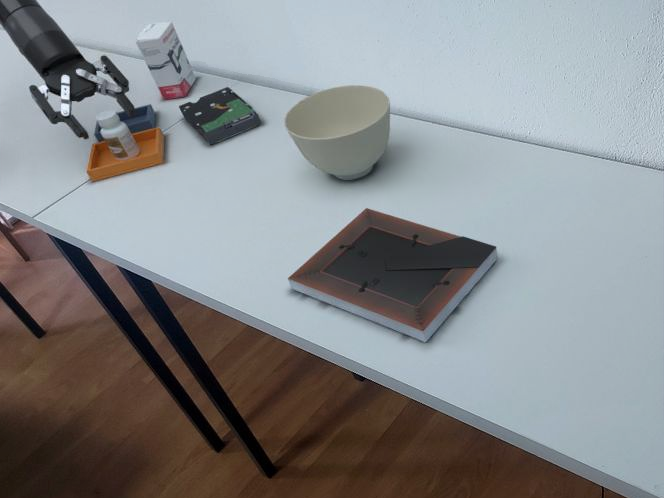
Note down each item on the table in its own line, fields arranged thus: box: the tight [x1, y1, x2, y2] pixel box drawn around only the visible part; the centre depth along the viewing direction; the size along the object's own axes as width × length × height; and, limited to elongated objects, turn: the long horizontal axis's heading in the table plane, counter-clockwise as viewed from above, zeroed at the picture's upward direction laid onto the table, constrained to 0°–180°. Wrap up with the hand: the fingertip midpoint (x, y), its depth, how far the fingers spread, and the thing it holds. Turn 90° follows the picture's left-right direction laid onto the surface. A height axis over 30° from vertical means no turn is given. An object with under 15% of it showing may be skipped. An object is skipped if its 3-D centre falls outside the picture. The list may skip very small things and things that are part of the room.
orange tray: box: [86, 126, 165, 182], centre depth 114 cm, size 12×10×2 cm
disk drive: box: [178, 86, 261, 145], centre depth 119 cm, size 10×3×15 cm
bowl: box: [283, 84, 391, 181], centre depth 99 cm, size 16×16×10 cm
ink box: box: [135, 21, 197, 100], centre depth 128 cm, size 8×5×12 cm, turn 1°
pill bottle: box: [95, 109, 140, 161], centre depth 111 cm, size 4×4×8 cm
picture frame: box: [287, 207, 498, 343], centre depth 82 cm, size 16×2×22 cm
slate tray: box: [93, 103, 156, 143], centre depth 122 cm, size 10×7×2 cm
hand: (110, 126), depth 109 cm, fingers open, 8 cm apart
